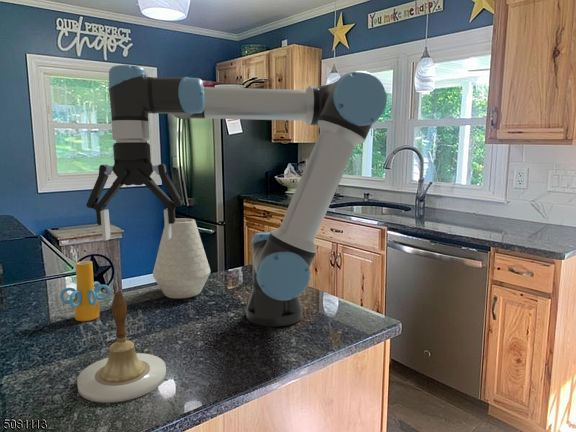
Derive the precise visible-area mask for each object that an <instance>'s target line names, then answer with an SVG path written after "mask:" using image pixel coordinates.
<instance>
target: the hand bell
mask: <svg viewBox="0 0 576 432" xmlns="http://www.w3.org/2000/svg"><path fill="white" fill-rule="evenodd" d="M126 302H127V301H126V299H125V297H124V295H123V291H116V292H114V296H113V300H112V305H111V313H112V317H113V320H114V322H115V327H116V332H115V334H116V335H115V336H116V341H115V342H113V343H112V344H111V345H109V351H108V352H109V353H108V356H107V358H108V361H107V363H106V365H105V366H104V367H103V368H102V370H101V371H100V377H101V378H102V379H103V380H105V381H108V382H123V381H128V380H131V379H134V378H136V377H138V376H140V375H141V374H142V373H143V372H144V371H145V365H144V363H143V362H142V361H140V360H139V359H138V357H137V355H136V353H137V352H136V348H135V343H134V342H133V341H130V340H128V339H127V334H126V325H125V324H126V319H127V313H128V312H127V311H128V307H127V303H126Z"/></svg>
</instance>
